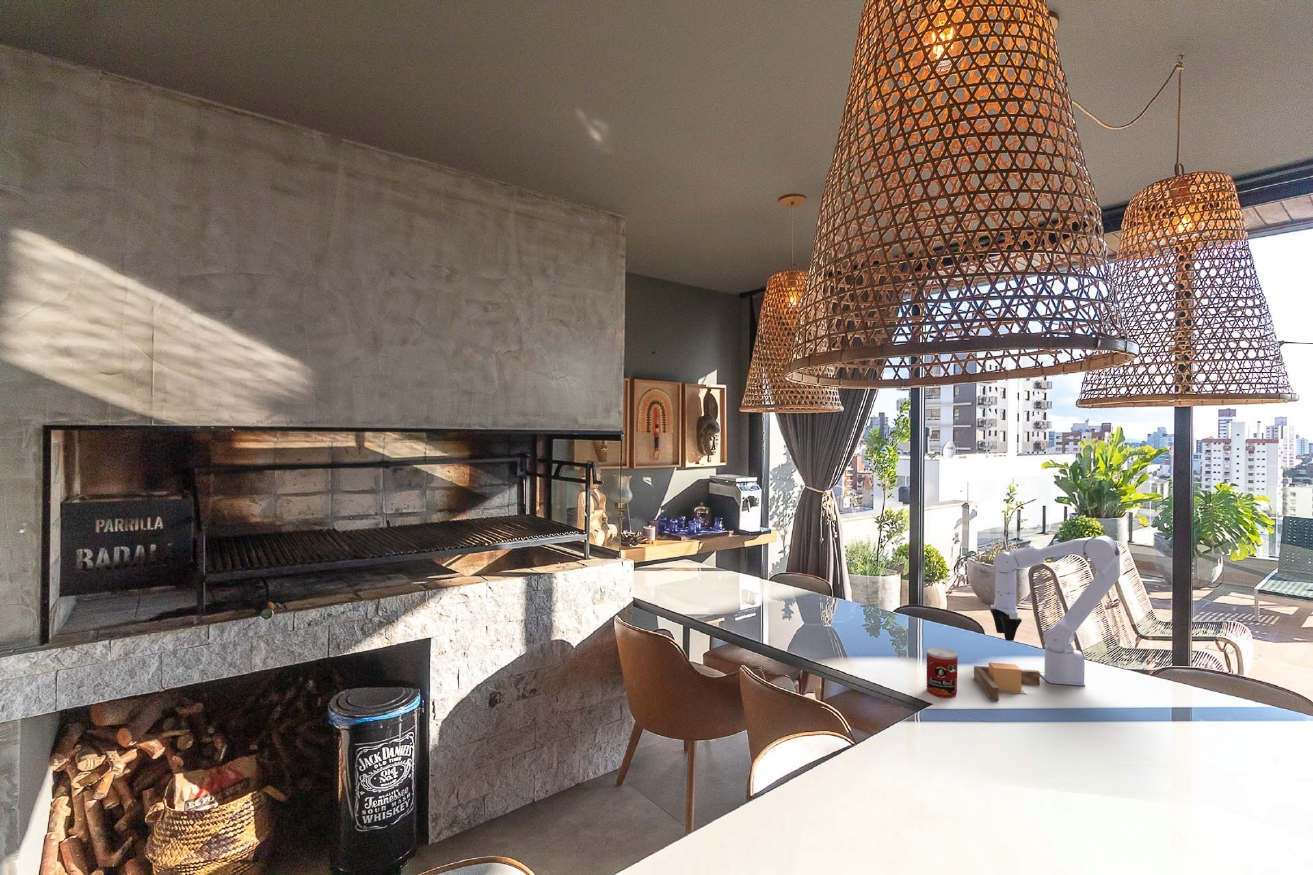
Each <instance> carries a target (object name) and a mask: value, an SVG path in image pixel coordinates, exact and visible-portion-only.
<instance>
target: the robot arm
mask: <svg viewBox="0 0 1313 875" xmlns="http://www.w3.org/2000/svg"><path fill="white" fill-rule="evenodd" d="M1070 554H1076V555H1078V556H1082V557H1085V556H1087V558H1088V559H1089V560H1090V561H1091V562H1092V563H1093V566H1094V569H1095V571H1096V575H1095V576H1094V577H1093V579H1092V581H1091V582H1089V584H1088V585H1087V586H1086V588H1085V589H1084V590H1083V592H1081V594H1080V595H1079V597H1077V599H1076V600H1075V601H1074V603H1073V604H1072V605H1071V607H1069V609H1068V610H1067V611H1066V613H1065V614H1064V615H1063V617H1061V619H1060V620H1059V621H1058V622H1057V623H1053V625H1052V626H1051V627H1050V628H1049V629H1047V630H1046V631H1045V632H1044V633H1043V642H1044V666H1043V667H1044V672H1043V671H1039V672H1040V677H1042V678H1043V679H1044V680H1045V681H1046V682H1047V683H1049V684H1057V685H1059V684H1060V685H1069V686H1070V685H1072V686H1084V687H1085V686H1086V682H1085V669H1086V668H1085V667H1086V666H1085V657H1084V655H1083V653H1082V651H1081V650H1078V649H1075V648H1074V647H1073V645H1072V643H1073V642H1074V641H1075V639H1076V633H1077V631H1078V629H1079V628H1080V627H1081V626H1082V624H1083V623H1084V622H1085V620H1086V619H1087V618H1088V617H1089V616H1090V614H1091V613H1093V611H1094V609H1095V608H1096V607H1097V606H1098V605H1099V603H1100V602H1101V601H1102V600H1103V599H1104V597H1105V596H1106V595H1107V594H1108V592H1109V591H1110V590H1111V589H1112V588H1113V586H1114V585H1115V584H1116V582H1117V581H1118V580H1119V579H1120V576H1121V565H1120V564H1121V562H1120V560H1121V559H1120V558H1121V551H1120V549H1119V547H1118V544H1117V543H1116V541H1115V540H1114V539H1113V538H1112V537H1110V536H1108V535H1099V536H1095V537H1094V538H1093V536H1089V537H1082V538H1081V537H1080V538H1075V539H1071V540H1068V541H1064V542H1060V543H1057V544H1053V545H1049V546H1046V547H1040V546H1038V545H1036V544H1033V545H1031V544H1030V543H1029V544H1025V545H1024V547H1021V548H1017V549H1013V548H1010V549H1009V550H1008V551H1004V552H1001V553H998V554H997V555H996V556H995V557H994V558H993V566H994V568H995V576H994V577H995V578H994V580H995V581H994V582H995V583H994V588H995V589H994V601H993V602H994V603H993V604H990V608H989V612H990V613H991V615H992V617H993V621H994V626H995V631H996V634H1003V635H1004V640H1005V641H1007V642H1008V641H1009V642H1014V640H1015V636H1016V633H1017V630H1018V628H1019V626H1020V624H1021V623H1022V621H1023V619H1022V618H1021V617H1019V616H1018V614H1019V613H1018V608H1017V585H1018V584H1017V580H1018V579H1017V569H1020V570H1022V569H1026V568H1030V567H1035V566H1039V565H1043V563H1045V560H1046V559H1050V558H1054V557H1059V556H1065V555H1070Z"/></svg>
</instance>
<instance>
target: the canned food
mask: <svg viewBox="0 0 1313 875" xmlns="http://www.w3.org/2000/svg"><path fill="white" fill-rule="evenodd" d="M958 665H959V663H958V652H956V651H954V650H951V649H949V648H943V647H931V648H928V649H927V651H926V691H927V693H928V694H930V695H932V696H935V697H938V698H943V699H944V698H946V699H948V698H949V699H950V698H954V697H956V695H957V693H958Z"/></svg>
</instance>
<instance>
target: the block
mask: <svg viewBox="0 0 1313 875" xmlns="http://www.w3.org/2000/svg"><path fill="white" fill-rule="evenodd" d="M988 667H989V673H988V676H989V677H990V679H991V680H992V681H993V682H994V683H995V684H996V685H997V686H998V688H999V690H1005V691H1019V692H1021V689H1022V683H1021V669H1022V668H1021V667H1019V666H1018V665H1017V664H1015V663H1000V662H988Z"/></svg>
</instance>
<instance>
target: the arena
mask: <svg viewBox="0 0 1313 875" xmlns="http://www.w3.org/2000/svg"><path fill="white" fill-rule="evenodd" d="M1020 669H1021V684H1022V685H1023V684H1026V685H1036V686H1037V685H1038V686H1040V683H1041V675H1040V672H1041V671H1039V670H1034V669H1033V670H1032V669H1022V668H1020ZM988 673H989V666H980V665H973V679H974V680H975V681H976V682H977V684H978V685H979V686H980V687H981V688H982V690H983V691H984V693H986V695H987V696H988V697H989V698H990V700H991V701H992V702H999V700H1000V699H999V697H1000V694H999V693H1000V692H999V688H998V686H997V685H996V684H995V683H994V682H993V681H992V680H991V679H990V677H989V676H988Z"/></svg>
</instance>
